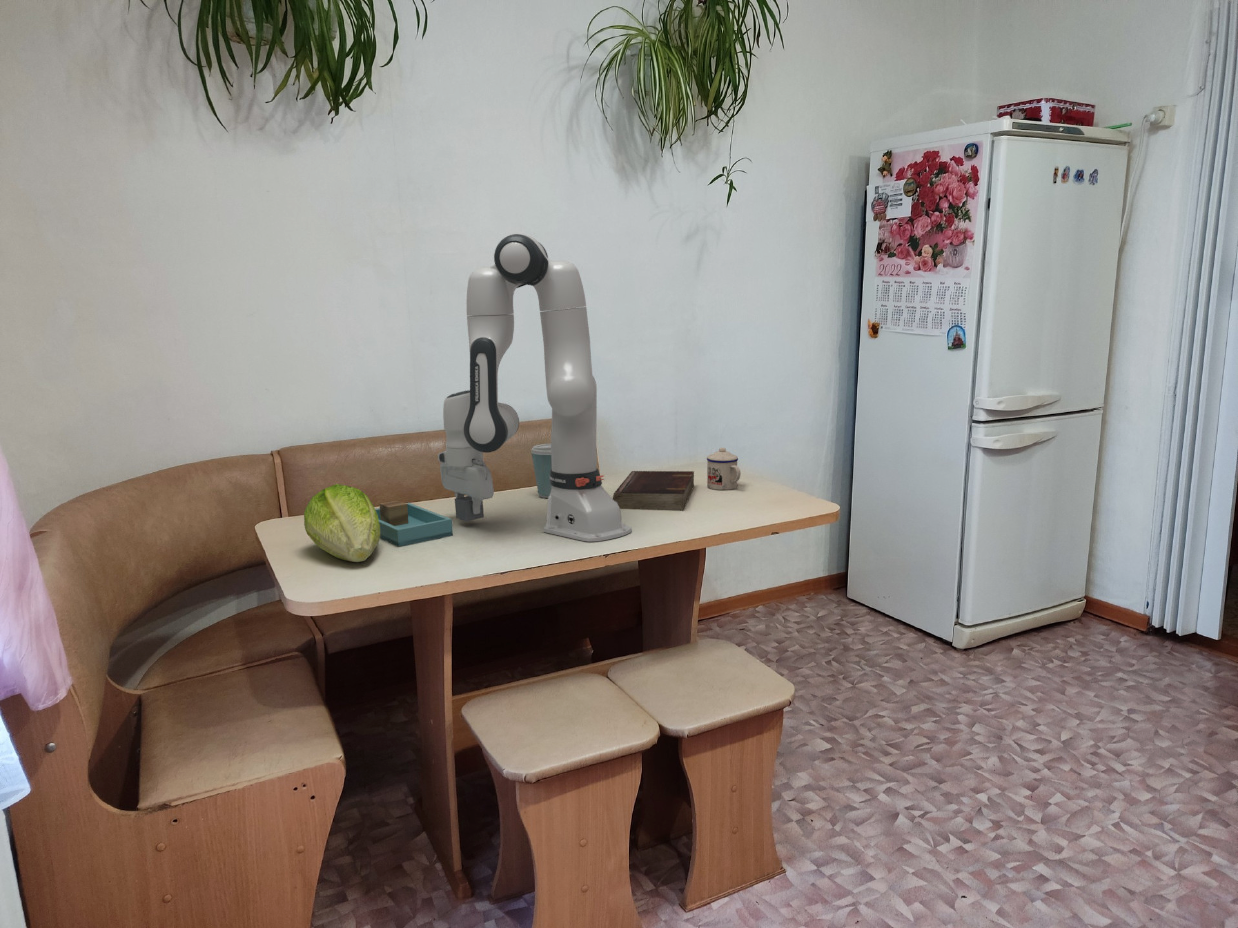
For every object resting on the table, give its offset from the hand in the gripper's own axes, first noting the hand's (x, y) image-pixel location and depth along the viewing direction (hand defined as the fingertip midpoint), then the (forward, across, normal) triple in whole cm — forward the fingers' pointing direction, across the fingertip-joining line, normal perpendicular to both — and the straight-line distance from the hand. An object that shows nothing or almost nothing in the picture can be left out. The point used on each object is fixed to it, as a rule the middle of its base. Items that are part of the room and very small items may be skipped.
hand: (469, 511), depth 217 cm
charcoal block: (+2, 0, 0) cm, 2 cm away
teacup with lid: (+6, -14, -76) cm, 78 cm away
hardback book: (+6, -8, -54) cm, 55 cm away
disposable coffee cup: (+4, +12, -32) cm, 35 cm away
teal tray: (+3, +5, +15) cm, 16 cm away
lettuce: (+3, -4, +33) cm, 33 cm away
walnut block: (+2, +10, +15) cm, 19 cm away
